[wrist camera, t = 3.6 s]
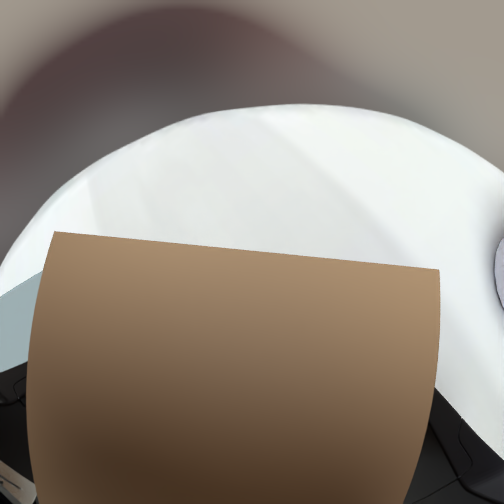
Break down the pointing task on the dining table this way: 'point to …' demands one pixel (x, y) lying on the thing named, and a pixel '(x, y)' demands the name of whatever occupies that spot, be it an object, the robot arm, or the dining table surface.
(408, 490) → the robot arm
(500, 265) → the soap bottle
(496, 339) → the dining table surface
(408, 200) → the dining table surface
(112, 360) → the walnut column
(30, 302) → the slate base
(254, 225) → the dining table surface
